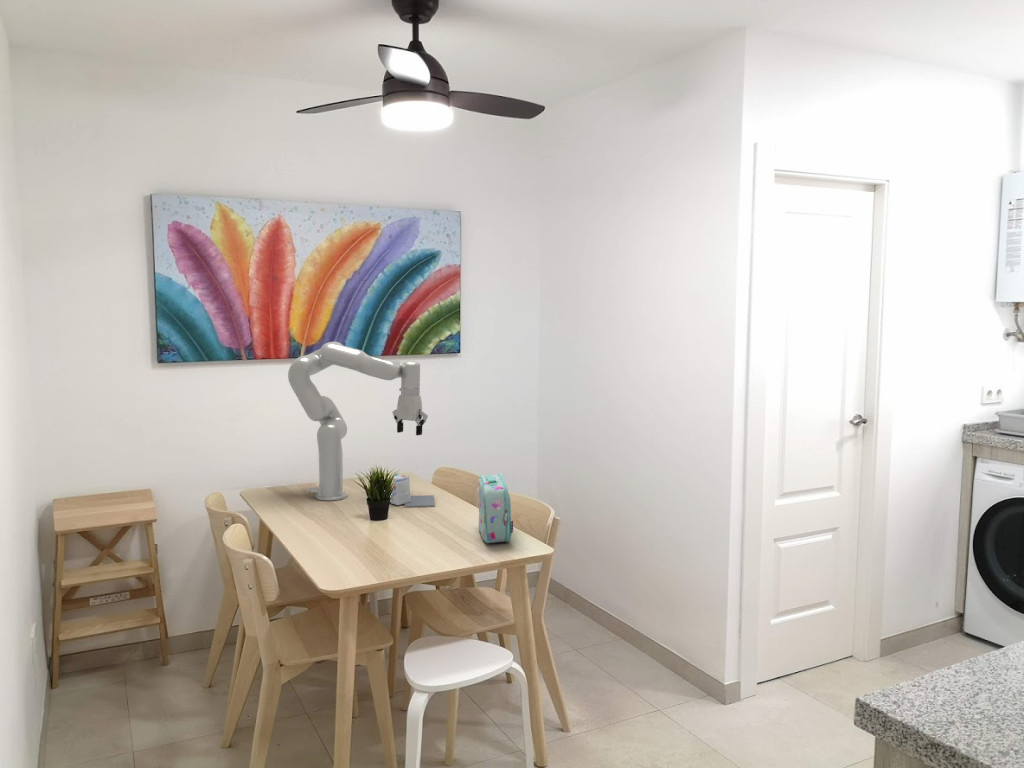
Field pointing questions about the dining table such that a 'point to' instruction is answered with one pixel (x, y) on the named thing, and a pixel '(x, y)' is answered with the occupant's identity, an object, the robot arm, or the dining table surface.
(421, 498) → the mat
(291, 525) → the dining table surface
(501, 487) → the lunch box
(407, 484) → the light bulb box
